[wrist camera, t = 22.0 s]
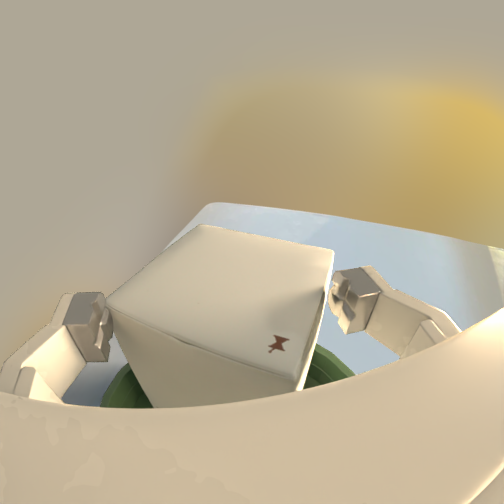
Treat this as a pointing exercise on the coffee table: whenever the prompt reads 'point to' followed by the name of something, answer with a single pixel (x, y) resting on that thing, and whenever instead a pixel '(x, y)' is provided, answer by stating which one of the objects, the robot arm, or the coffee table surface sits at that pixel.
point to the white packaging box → (222, 317)
